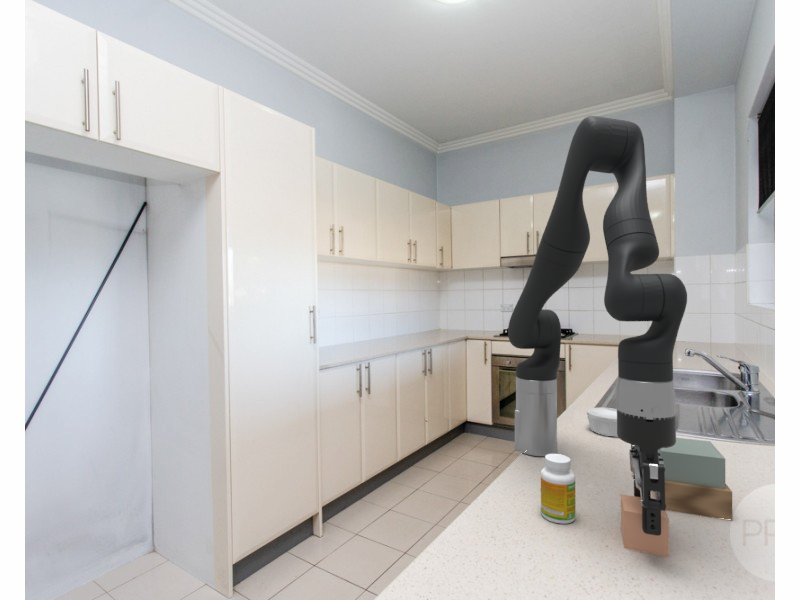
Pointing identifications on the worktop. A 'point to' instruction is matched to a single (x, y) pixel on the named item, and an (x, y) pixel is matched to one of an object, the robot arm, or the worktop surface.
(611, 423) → the ramekin
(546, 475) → the supplement bottle
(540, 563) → the worktop surface
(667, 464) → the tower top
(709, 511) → the tower base
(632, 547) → the terracotta cube
